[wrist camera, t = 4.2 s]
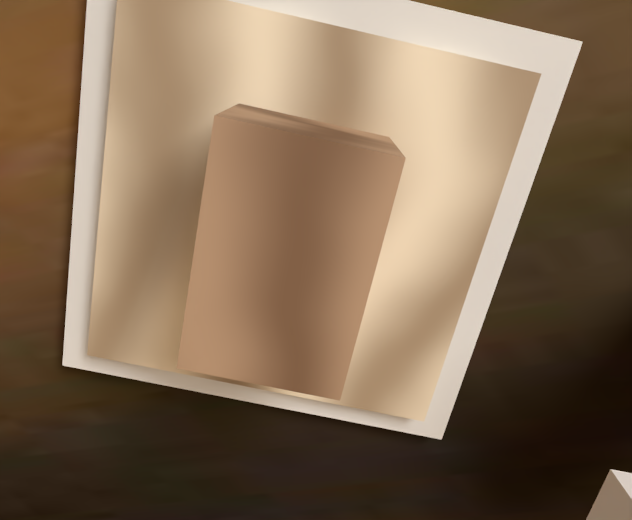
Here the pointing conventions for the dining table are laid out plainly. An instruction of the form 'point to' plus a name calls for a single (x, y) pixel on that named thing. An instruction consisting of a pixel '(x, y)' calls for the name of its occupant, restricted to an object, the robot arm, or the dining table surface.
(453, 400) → the mat
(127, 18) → the lid
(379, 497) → the dining table surface
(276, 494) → the dining table surface
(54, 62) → the dining table surface
